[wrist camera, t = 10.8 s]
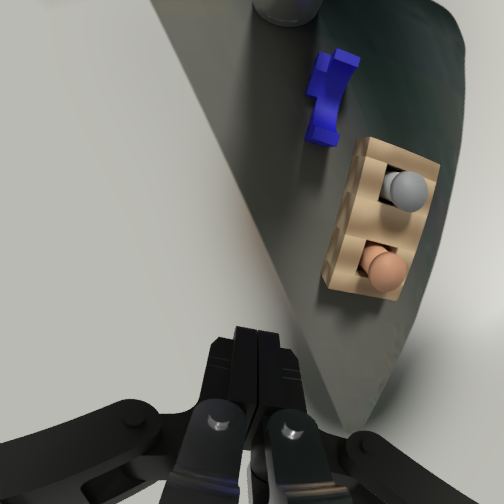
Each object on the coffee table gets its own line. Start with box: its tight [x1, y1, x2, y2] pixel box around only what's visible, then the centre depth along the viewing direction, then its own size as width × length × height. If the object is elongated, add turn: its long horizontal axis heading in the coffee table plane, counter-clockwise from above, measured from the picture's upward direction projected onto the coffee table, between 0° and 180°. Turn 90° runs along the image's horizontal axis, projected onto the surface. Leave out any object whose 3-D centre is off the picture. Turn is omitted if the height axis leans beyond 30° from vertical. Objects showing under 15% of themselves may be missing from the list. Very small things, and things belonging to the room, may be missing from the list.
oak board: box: [321, 137, 440, 301], centre depth 38 cm, size 20×11×5 cm, turn 168°
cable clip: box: [304, 49, 360, 147], centre depth 32 cm, size 12×4×6 cm, turn 165°
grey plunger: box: [379, 170, 428, 213], centre depth 34 cm, size 5×5×8 cm
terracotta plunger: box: [359, 240, 406, 292], centre depth 36 cm, size 5×5×8 cm
